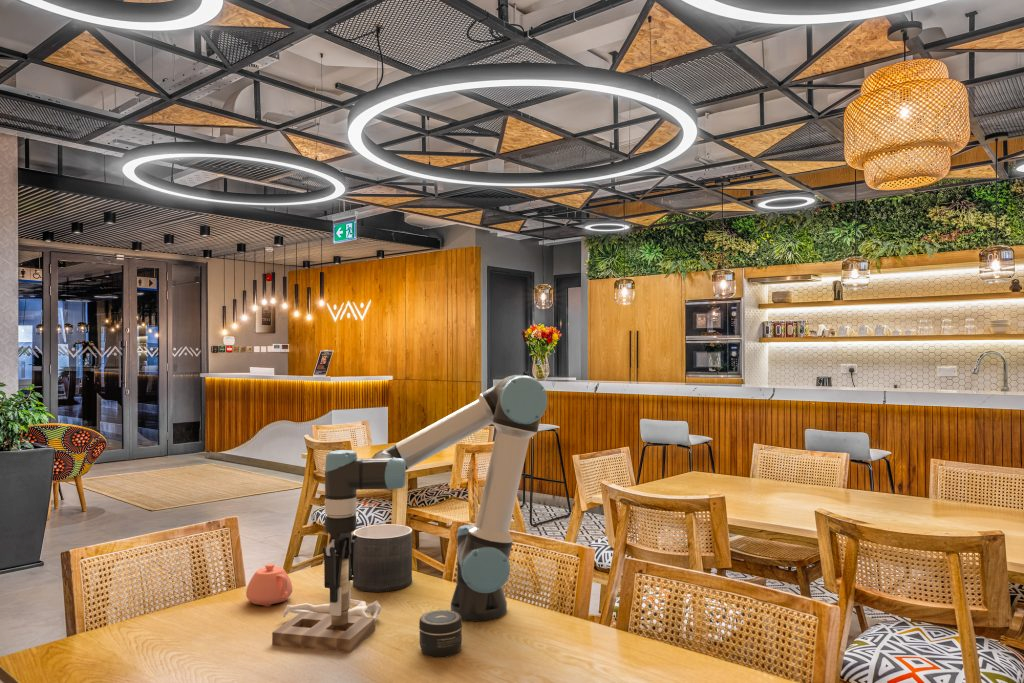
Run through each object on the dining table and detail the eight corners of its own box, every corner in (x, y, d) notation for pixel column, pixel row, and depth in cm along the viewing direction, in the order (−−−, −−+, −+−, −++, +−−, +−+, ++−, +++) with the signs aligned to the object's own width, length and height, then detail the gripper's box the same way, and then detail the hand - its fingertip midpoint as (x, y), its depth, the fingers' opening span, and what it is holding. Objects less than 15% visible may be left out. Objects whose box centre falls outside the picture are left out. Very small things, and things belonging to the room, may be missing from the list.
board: (375, 629, 174) (375, 617, 174) (349, 652, 160) (350, 639, 160) (302, 623, 178) (302, 611, 178) (272, 645, 165) (272, 632, 165)
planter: (343, 591, 204) (343, 537, 204) (365, 573, 221) (365, 523, 222) (401, 594, 201) (401, 539, 201) (419, 575, 218) (419, 525, 219)
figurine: (284, 629, 180) (380, 630, 180) (278, 622, 176) (376, 622, 175) (291, 600, 185) (384, 600, 185) (285, 592, 181) (380, 593, 180)
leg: (351, 619, 170) (351, 558, 171) (343, 626, 166) (344, 562, 166) (335, 618, 171) (336, 557, 171) (327, 624, 167) (328, 561, 167)
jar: (414, 645, 164) (414, 613, 165) (454, 638, 168) (454, 607, 168) (426, 662, 155) (426, 627, 155) (468, 654, 159) (468, 621, 159)
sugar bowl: (274, 591, 204) (275, 556, 204) (305, 600, 196) (305, 564, 196) (237, 603, 194) (237, 566, 194) (267, 613, 186) (267, 575, 186)
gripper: (342, 506, 179) (342, 598, 178) (308, 521, 162) (308, 623, 161) (369, 508, 177) (369, 600, 176) (338, 523, 160) (337, 625, 159)
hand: (340, 611), depth 169 cm, fingers closed on leg, 4 cm apart
